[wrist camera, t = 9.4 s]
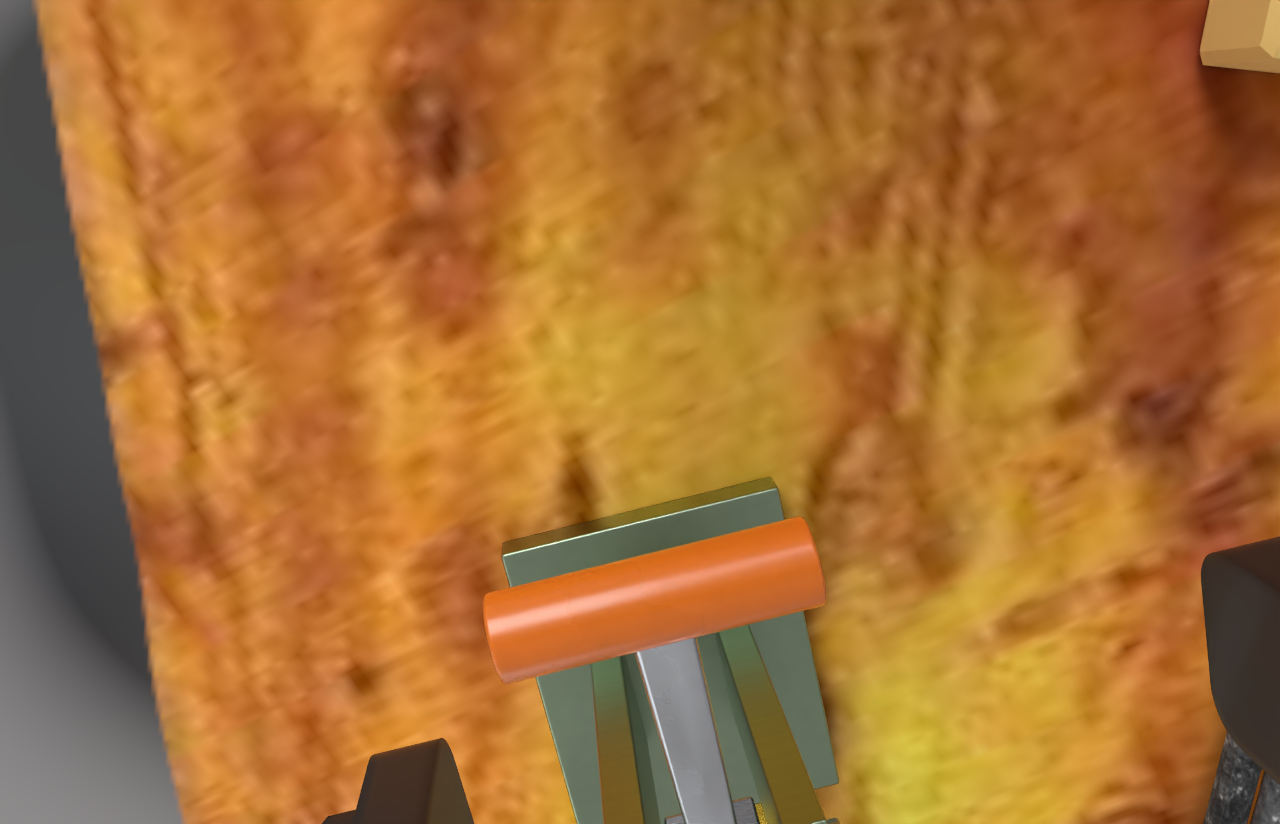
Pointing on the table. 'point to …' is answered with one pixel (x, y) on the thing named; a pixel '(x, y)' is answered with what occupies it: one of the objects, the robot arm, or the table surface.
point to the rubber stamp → (1242, 35)
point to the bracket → (733, 665)
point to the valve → (1241, 790)
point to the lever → (663, 636)
